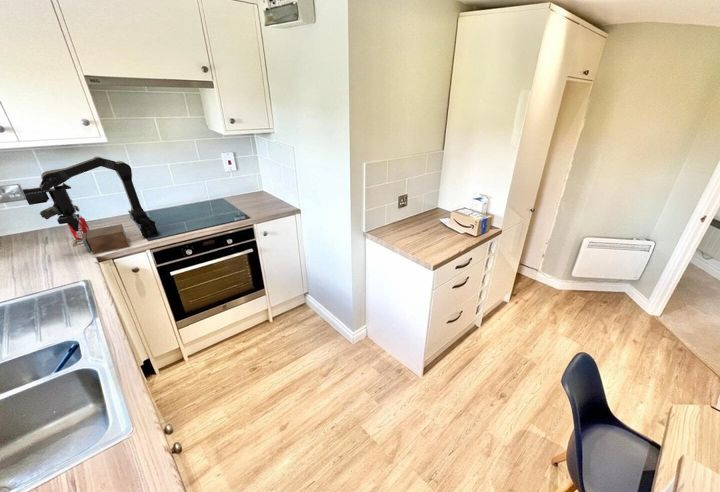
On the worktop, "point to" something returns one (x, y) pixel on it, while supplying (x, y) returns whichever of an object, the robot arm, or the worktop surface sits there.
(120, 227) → the cabinet
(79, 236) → the soda can
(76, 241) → the drawer
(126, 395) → the worktop surface
